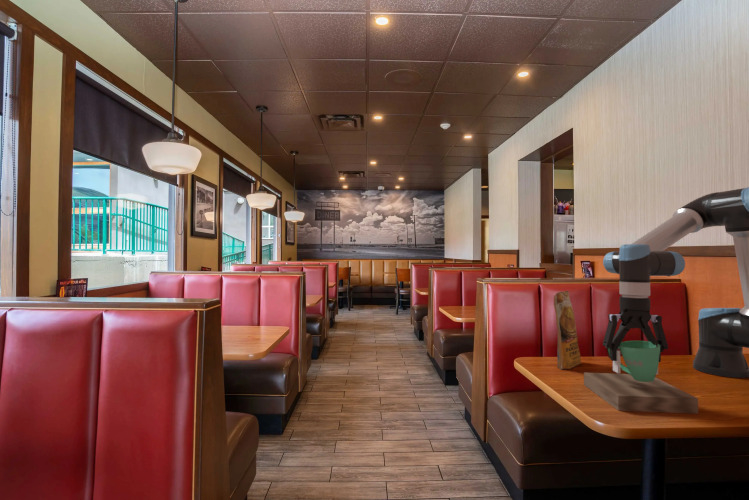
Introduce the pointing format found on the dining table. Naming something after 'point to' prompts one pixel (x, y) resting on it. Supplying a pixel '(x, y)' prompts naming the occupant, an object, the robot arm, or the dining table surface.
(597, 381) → the plinth
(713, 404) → the dining table surface
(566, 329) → the pancake mix bag
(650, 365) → the mug
